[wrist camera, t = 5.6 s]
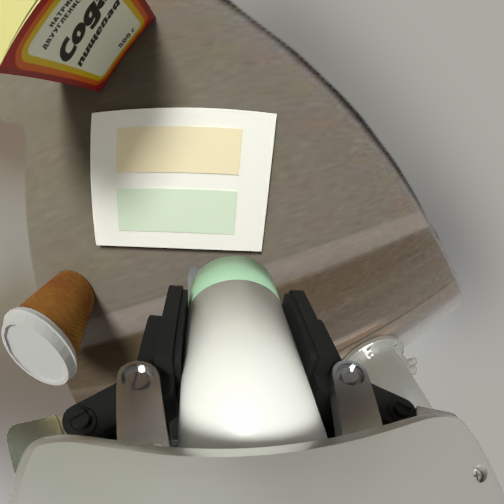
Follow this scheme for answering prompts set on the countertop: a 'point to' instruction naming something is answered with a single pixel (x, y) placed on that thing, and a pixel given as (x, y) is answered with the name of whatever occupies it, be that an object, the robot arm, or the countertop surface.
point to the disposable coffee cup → (50, 328)
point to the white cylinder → (242, 364)
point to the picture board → (181, 177)
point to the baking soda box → (69, 38)
